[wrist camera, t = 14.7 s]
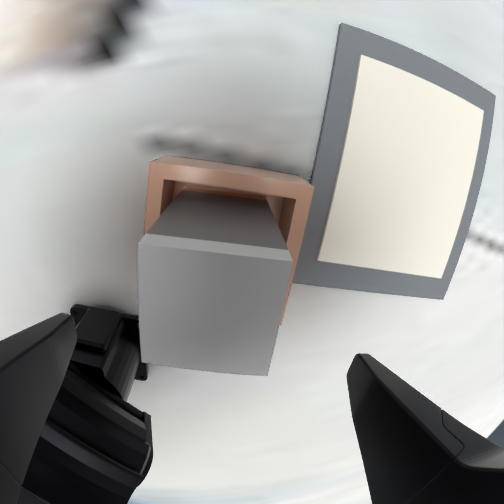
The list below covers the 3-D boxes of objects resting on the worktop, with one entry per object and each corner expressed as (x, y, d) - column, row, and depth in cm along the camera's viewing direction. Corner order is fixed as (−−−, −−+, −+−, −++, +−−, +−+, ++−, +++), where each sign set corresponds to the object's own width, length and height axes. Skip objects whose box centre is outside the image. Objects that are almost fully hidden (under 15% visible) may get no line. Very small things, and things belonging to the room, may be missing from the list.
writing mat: (440, 297, 24) (444, 301, 23) (288, 279, 22) (289, 284, 22) (492, 95, 17) (497, 95, 17) (339, 24, 16) (343, 21, 15)
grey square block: (253, 270, 21) (267, 375, 12) (178, 261, 21) (141, 362, 11) (265, 196, 19) (293, 261, 10) (184, 187, 19) (137, 243, 10)
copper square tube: (273, 293, 23) (280, 325, 19) (155, 276, 22) (141, 306, 18) (299, 175, 20) (314, 187, 16) (166, 155, 19) (150, 161, 15)
